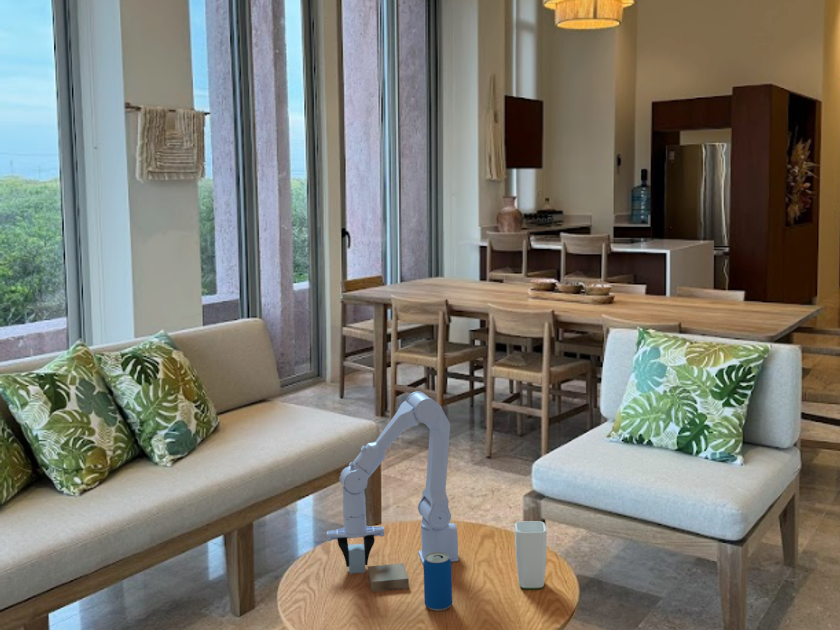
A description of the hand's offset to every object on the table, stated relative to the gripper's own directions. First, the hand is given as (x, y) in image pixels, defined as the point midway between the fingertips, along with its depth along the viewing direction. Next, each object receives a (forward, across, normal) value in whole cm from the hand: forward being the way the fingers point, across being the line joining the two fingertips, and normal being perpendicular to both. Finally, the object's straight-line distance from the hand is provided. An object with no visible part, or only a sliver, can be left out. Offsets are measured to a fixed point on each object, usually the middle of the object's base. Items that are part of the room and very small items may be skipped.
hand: (356, 564), depth 231 cm
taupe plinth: (+2, -7, +9) cm, 12 cm away
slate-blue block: (+1, 0, 0) cm, 1 cm away
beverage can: (+2, -17, +24) cm, 29 cm away
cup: (+2, -41, +18) cm, 45 cm away
